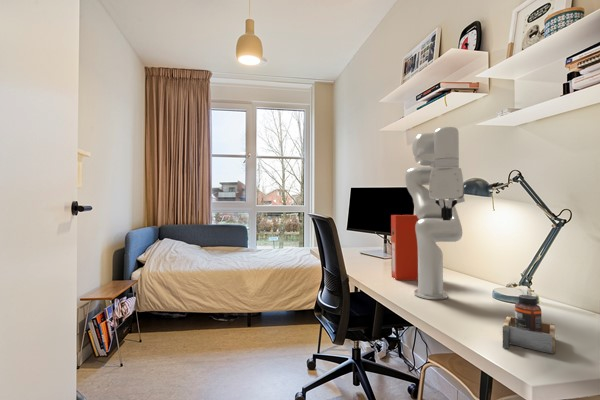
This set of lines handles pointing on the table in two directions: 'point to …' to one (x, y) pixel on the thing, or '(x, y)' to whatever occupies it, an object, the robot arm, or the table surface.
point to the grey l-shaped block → (527, 339)
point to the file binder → (404, 247)
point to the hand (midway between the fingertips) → (446, 220)
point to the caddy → (546, 328)
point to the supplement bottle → (528, 314)
